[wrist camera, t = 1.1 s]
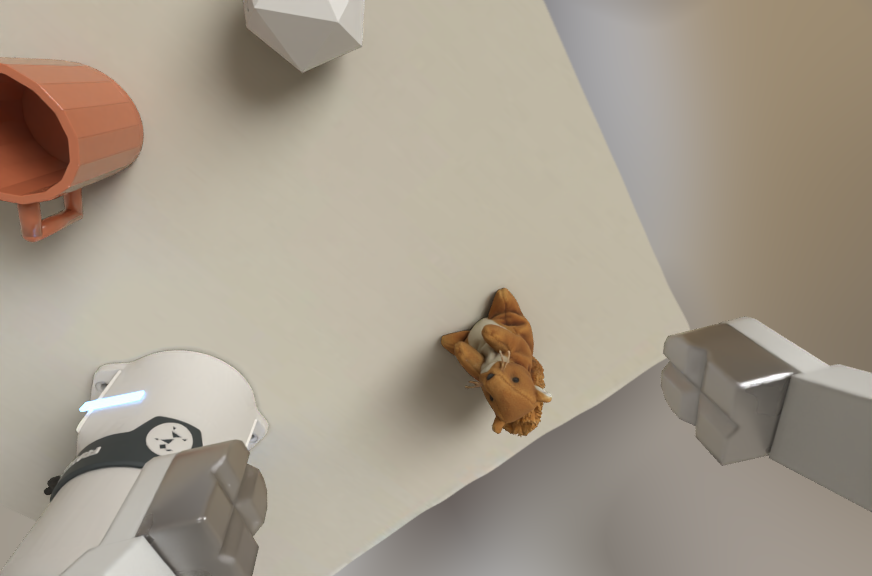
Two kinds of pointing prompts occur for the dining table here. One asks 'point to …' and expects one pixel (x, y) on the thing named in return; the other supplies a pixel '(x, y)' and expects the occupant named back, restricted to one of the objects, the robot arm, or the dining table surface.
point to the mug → (60, 137)
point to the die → (307, 28)
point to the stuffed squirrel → (503, 365)
